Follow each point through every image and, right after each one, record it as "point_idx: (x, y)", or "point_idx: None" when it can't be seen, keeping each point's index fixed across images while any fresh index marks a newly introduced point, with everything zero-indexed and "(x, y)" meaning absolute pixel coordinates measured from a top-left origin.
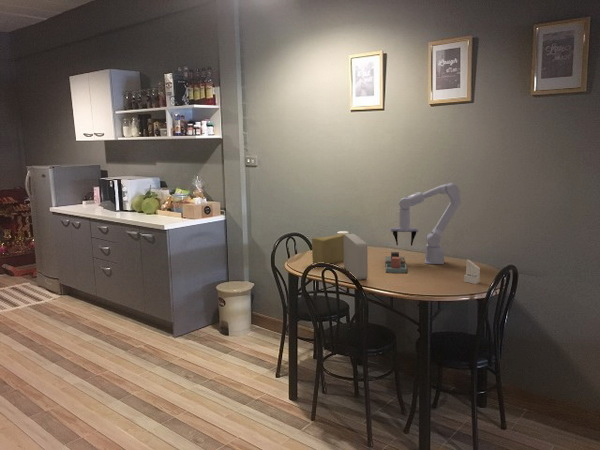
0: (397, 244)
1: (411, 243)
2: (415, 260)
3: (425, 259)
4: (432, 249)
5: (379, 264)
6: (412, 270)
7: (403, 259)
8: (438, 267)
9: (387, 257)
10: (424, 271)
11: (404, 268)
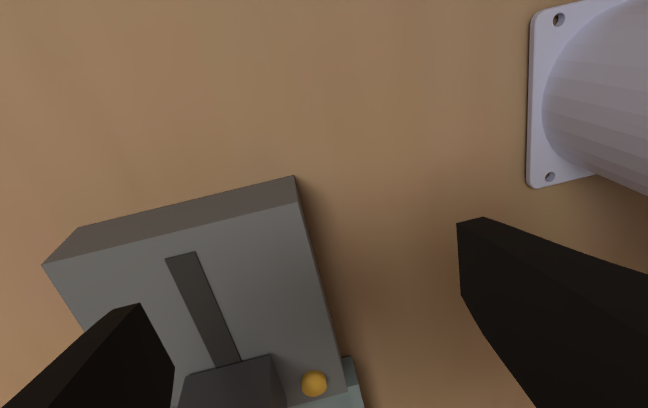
0: (165, 391)
1: (496, 338)
2: (414, 42)
3: (549, 11)
4: None
5: (73, 340)
6: (411, 399)
7: (318, 325)
8: (621, 261)
9: (96, 304)
10: (497, 391)
11: (350, 406)
